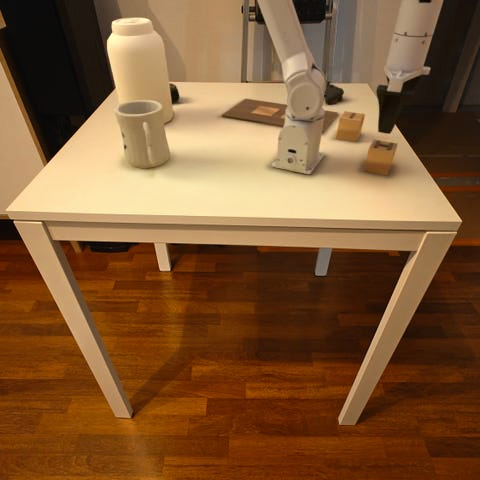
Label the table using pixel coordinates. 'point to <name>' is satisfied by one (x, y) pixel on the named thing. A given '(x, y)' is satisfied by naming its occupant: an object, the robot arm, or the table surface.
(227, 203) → the table surface
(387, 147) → the wooden block
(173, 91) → the tape measure
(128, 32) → the white bottle
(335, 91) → the game controller
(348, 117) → the wooden cube
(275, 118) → the word mat
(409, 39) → the robot arm
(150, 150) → the mug
